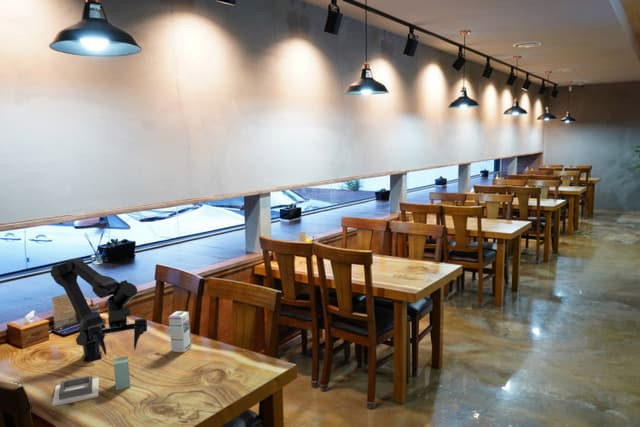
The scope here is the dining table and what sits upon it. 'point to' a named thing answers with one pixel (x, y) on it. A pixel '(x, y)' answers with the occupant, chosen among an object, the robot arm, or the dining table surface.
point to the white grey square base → (76, 390)
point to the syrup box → (180, 331)
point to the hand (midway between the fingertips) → (120, 352)
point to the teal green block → (121, 373)
